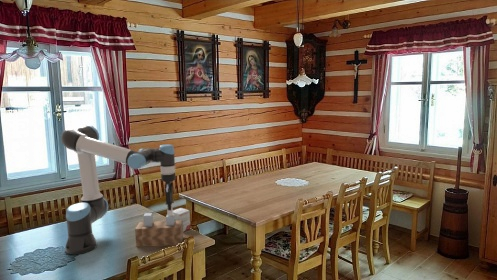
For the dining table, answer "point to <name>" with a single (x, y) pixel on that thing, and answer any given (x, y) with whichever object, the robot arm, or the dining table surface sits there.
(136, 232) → the socket block
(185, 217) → the ink box
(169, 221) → the peg
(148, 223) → the peg
